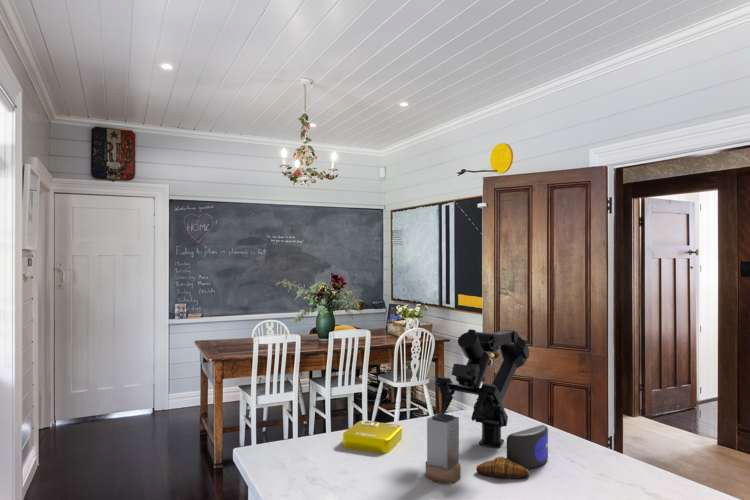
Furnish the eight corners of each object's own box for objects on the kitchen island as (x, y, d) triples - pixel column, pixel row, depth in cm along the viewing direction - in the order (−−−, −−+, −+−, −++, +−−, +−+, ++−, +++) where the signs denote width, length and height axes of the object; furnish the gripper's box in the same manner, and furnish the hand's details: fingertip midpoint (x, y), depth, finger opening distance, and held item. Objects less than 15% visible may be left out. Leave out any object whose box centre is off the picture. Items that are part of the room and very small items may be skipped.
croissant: (528, 472, 134) (527, 453, 135) (530, 483, 128) (530, 463, 128) (476, 468, 137) (476, 449, 137) (476, 479, 130) (476, 459, 131)
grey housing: (439, 457, 136) (439, 411, 136) (458, 463, 132) (458, 415, 133) (427, 465, 131) (427, 416, 132) (447, 471, 128) (447, 421, 128)
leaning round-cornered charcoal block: (518, 475, 133) (518, 439, 133) (505, 469, 136) (504, 433, 137) (557, 461, 142) (557, 427, 142) (543, 456, 145) (543, 423, 146)
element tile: (340, 448, 152) (340, 432, 152) (360, 432, 166) (360, 418, 166) (387, 455, 146) (387, 439, 147) (403, 438, 160) (403, 423, 160)
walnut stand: (432, 466, 138) (432, 455, 138) (464, 472, 134) (464, 461, 134) (420, 479, 130) (420, 467, 130) (454, 486, 126) (454, 474, 126)
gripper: (437, 348, 148) (416, 394, 139) (496, 356, 137) (478, 406, 128) (450, 370, 154) (432, 416, 145) (509, 379, 143) (492, 429, 134)
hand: (457, 416), depth 138 cm, fingers open, 9 cm apart
